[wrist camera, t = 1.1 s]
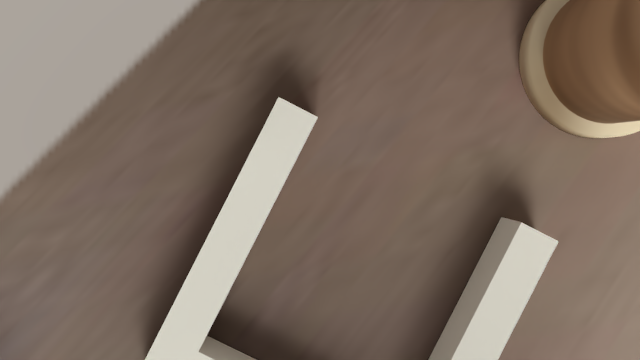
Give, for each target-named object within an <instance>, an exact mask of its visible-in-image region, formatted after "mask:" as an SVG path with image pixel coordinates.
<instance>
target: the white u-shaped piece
mask: <svg viewBox="0 0 640 360" xmlns="http://www.w3.org/2000/svg"><path fill="white" fill-rule="evenodd" d="M317 118H318V117H317V116H315V115H313V114H311V113H309V112H307V111H305V110H303V109H301V108H299V107H297V106H295V105H293V104H292V103H290V102H288V101H286V100H284V99H282V98H280V97H278V99H277V101H276V103H275V105H274V107H273V109H272V111H271V113H270V115H269V117H268V119H267V121H266V123H265V125H264V127H263V129H262V131H261V133H260V135H259V136H258V138H257V140H256V142H255V144H254V146H253V148H252V150H251V152H250V154H249V156H248V158H247V160H246V162H245V164H244V166H243V168H242V170H241V172H240V174H239V176H238V178H237V180H236V182H235V184H234V186H233V188H232V190H231V192H230V193H229V195H228V197H227V199H226V201H225V203H224V205H223V207H222V209H221V211H220V213H219V215H218V217H217V219H216V221H215V223H214V225H213V227H212V229H211V231H210V233H209V235H208V237H207V239H206V241H205V243H204V245H203V247H202V248H201V250H200V252H199V254H198V256H197V258H196V260H195V262H194V264H193V266H192V268H191V270H190V272H189V274H188V276H187V278H186V280H185V282H184V284H183V286H182V288H181V290H180V292H179V294H178V296H177V298H176V300H175V302H174V304H173V305H172V307H171V309H170V311H169V313H168V315H167V317H166V319H165V321H164V323H163V325H162V327H161V329H160V331H159V333H158V335H157V337H156V339H155V341H154V343H153V345H152V347H151V349H150V351H149V353H148V355H147V357H146V359H145V360H256V359H254V358H252V357H250V356H248V355H246V354H244V353H242V352H240V351H238V350H236V349H234V348H232V347H229V346H227V345H225V344H223V343H221V342H219V341H217V340H215V339H213V338H211V337H209V336H207V334H208V332H209V330H210V328H211V326H212V324H213V322H214V320H215V318H216V316H217V314H218V312H219V310H220V309H221V307H222V305H223V303H224V301H225V299H226V297H227V295H228V293H229V291H230V289H231V287H232V285H233V283H234V281H235V279H236V277H237V275H238V273H239V271H240V269H241V267H242V265H243V263H244V261H245V259H246V257H247V256H248V254H249V252H250V250H251V248H252V246H253V244H254V242H255V240H256V238H257V236H258V234H259V232H260V230H261V228H262V226H263V224H264V222H265V220H266V218H267V216H268V214H269V212H270V210H271V208H272V206H273V204H274V202H275V201H276V199H277V197H278V195H279V193H280V191H281V189H282V187H283V185H284V183H285V181H286V179H287V177H288V175H289V173H290V171H291V169H292V167H293V165H294V163H295V161H296V159H297V157H298V155H299V153H300V151H301V149H302V148H303V146H304V144H305V142H306V140H307V138H308V136H309V134H310V132H311V130H312V128H313V126H314V124H315V122H316V120H317ZM557 243H558V241H557V240H555V239H553V238H551V237H549V236H547V235H545V234H543V233H541V232H539V231H537V230H535V229H533V228H532V227H530V226H528V225H526V224H524V223H522V222H518V221H515V220H511V219H507V218H503V217H501V219H500V221H499V223H498V224H497V226H496V228H495V230H494V232H493V234H492V236H491V238H490V240H489V242H488V244H487V246H486V248H485V250H484V252H483V254H482V256H481V258H480V260H479V262H478V264H477V266H476V268H475V269H474V271H473V273H472V275H471V277H470V279H469V281H468V283H467V285H466V287H465V289H464V291H463V293H462V295H461V297H460V299H459V301H458V303H457V305H456V307H455V309H454V311H453V312H452V314H451V316H450V318H449V320H448V322H447V324H446V326H445V328H444V330H443V332H442V334H441V336H440V338H439V340H438V342H437V344H436V346H435V348H434V350H433V352H432V354H431V356H430V357H429V359H428V360H498V359H499V357H500V355H501V353H502V351H503V349H504V347H505V345H506V343H507V341H508V339H509V337H510V335H511V333H512V331H513V329H514V327H515V325H516V323H517V322H518V320H519V318H520V316H521V314H522V312H523V310H524V308H525V306H526V304H527V302H528V300H529V298H530V296H531V294H532V292H533V290H534V288H535V286H536V284H537V282H538V281H539V279H540V277H541V275H542V273H543V271H544V269H545V267H546V265H547V263H548V261H549V259H550V257H551V255H552V253H553V251H554V249H555V247H556V245H557Z"/></svg>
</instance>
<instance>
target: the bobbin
mask: <svg viewBox="0 0 640 360" xmlns="http://www.w3.org/2000/svg"><path fill="white" fill-rule="evenodd" d="M519 68H520V75H521V79H522V84H523V86H524V89H525V92H526V94H527V96H528V98H529V100H530V101H531V103H532V104H533V106H534V107H535V109H536V110H537V111H538V112H539V113H540V114H541V116H542V117H543V118H544V119H546V120H547V121H548V122H549V123H550V124H552V125H553V126H555V127H557V128H558V129H560V130H562V131H564V132H566V133H569V134H572V135H575V136H579V137H585V138H609V137H619V136H625V135H629V134H633V133H635V132H638V131H640V0H545V1H544V2H543V3H542V4H541V5H540V6H539V7H538V9H537V10H536V11H535V12H534V14H533V15H532V17H531V18H530V20H529V22H528V24H527V26H526V28H525V31H524V33H523V37H522V40H521V45H520V51H519Z"/></svg>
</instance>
